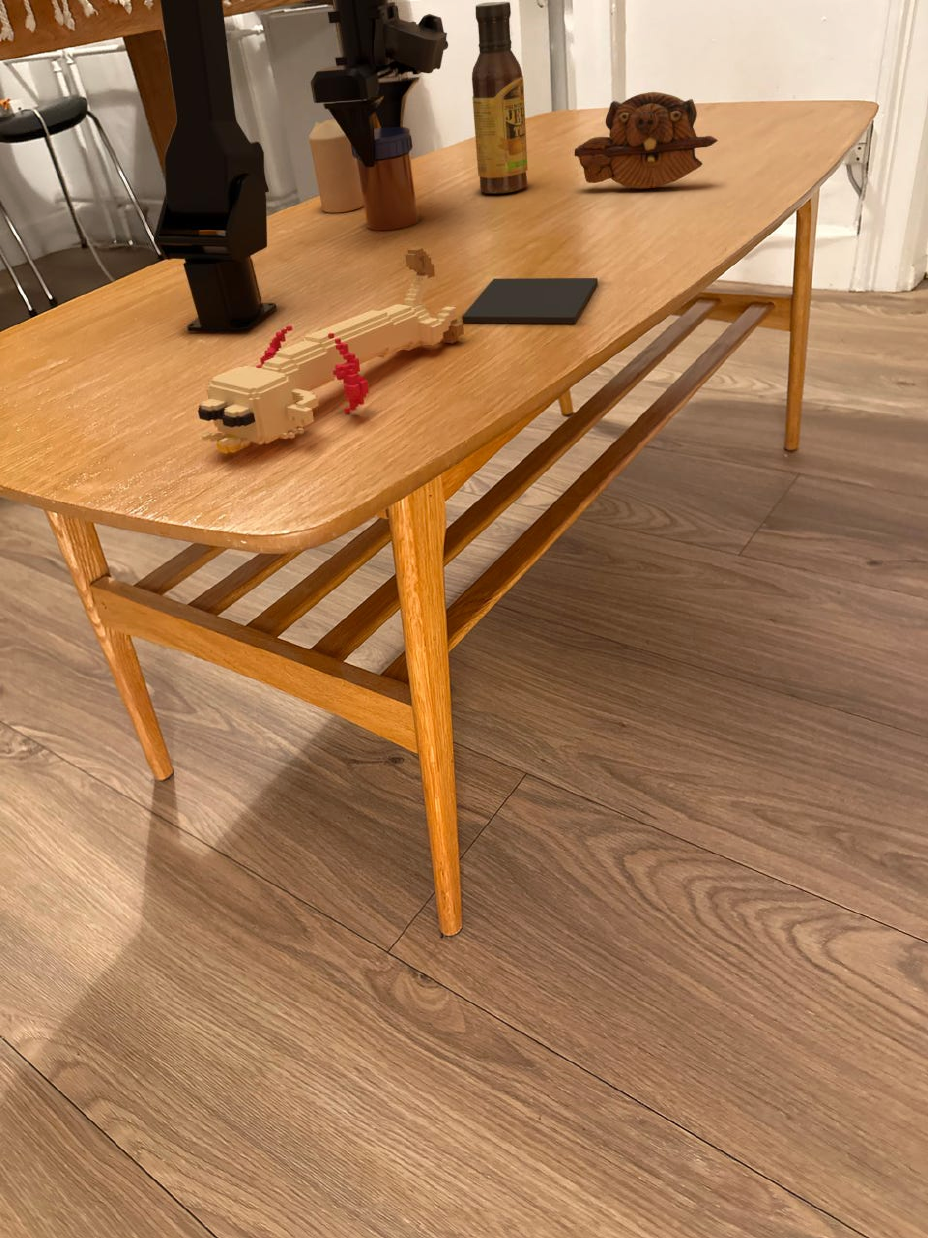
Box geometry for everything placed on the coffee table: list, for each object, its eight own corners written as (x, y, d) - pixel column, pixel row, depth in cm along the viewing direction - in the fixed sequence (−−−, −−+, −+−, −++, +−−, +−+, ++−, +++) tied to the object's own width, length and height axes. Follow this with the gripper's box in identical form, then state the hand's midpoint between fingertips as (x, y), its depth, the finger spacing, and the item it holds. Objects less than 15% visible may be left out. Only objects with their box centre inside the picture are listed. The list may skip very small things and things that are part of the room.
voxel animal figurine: (393, 343, 81) (168, 441, 65) (383, 238, 76) (137, 316, 60) (485, 359, 76) (266, 470, 60) (480, 248, 71) (240, 336, 55)
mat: (574, 324, 77) (574, 317, 77) (462, 323, 80) (461, 316, 80) (597, 284, 84) (597, 277, 84) (494, 284, 87) (493, 278, 87)
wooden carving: (573, 197, 110) (570, 103, 104) (578, 187, 113) (576, 95, 107) (714, 190, 106) (720, 91, 100) (715, 180, 109) (721, 84, 103)
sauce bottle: (518, 196, 113) (506, 3, 101) (472, 196, 115) (455, 8, 103) (536, 182, 118) (526, -3, 106) (491, 183, 120) (476, 1, 108)
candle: (357, 211, 115) (343, 123, 109) (316, 214, 117) (300, 126, 111) (369, 200, 120) (356, 114, 114) (330, 202, 121) (314, 117, 115)
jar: (408, 230, 106) (396, 143, 101) (359, 231, 108) (345, 146, 102) (425, 215, 111) (415, 131, 105) (378, 216, 112) (366, 134, 107)
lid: (399, 158, 101) (397, 138, 100) (343, 160, 103) (340, 141, 102) (420, 144, 106) (418, 124, 105) (366, 147, 108) (363, 128, 107)
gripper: (399, -4, 86) (421, 176, 96) (459, -21, 100) (473, 137, 109) (294, 7, 90) (325, 180, 99) (366, -11, 103) (387, 142, 113)
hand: (383, 158), depth 105 cm, fingers open, 8 cm apart
